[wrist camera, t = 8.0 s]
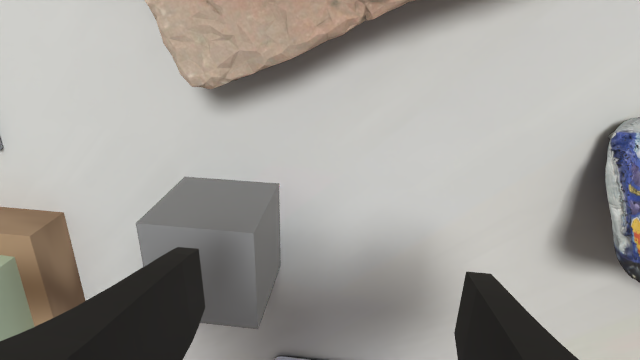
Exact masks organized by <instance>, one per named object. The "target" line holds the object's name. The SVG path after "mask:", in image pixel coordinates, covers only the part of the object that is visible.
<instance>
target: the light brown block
mask: <svg viewBox="0 0 640 360" xmlns="http://www.w3.org/2000/svg"><path fill="white" fill-rule="evenodd" d="M0 255H4V256H12V257H15V260H16V264H17V267H18V271H19V274H20V278H21V281H22V284H23V288H24V291H25V295H26V298H27V302H28V305H29V309H30V312H31V316H32V319H33V323H34V326H37V325H39V324H42V323H44V322H46V321H48V320H50V319H52V318H54V317H56V316H58V315H60V314H62V313H64V312H66V311H68V310H70V309H72V308H74V307H76V306H78V305H80V304H81V303H83V302H85V297H84V293H83V289H82V285H81V281H80V277H79V273H78V269H77V265H76V261H75V257H74V252H73V248H72V244H71V240H70V236H69V232H68V228H67V224H66V220H65V216H64V213H62V212H51V211H40V210H29V209H18V208H7V207H0Z"/></svg>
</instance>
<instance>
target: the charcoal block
mask: <svg viewBox="0 0 640 360" xmlns="http://www.w3.org/2000/svg"><path fill="white" fill-rule="evenodd" d="M136 227H137V233H138V239H139V244H140V250H141V256H142V261H143V267H144V266H146V265H148V264H149V263H151V262H153V261H154V260H156V259H157V258H159V257H161V256H162V255H164V254H166V253H167V252H169V251H171V250H173V249H175V248H177V247H185V248H196V249H199V256H200V264H201V273H202V282H203V291H204V299H205V310H204V313H203V316H202V318H201V321H200V323H207V324H216V325H225V326H235V327H244V328H253V329H258V328H259V325H260V322H261V319H262V316H263V313H264V311H265V308H266V305H267V302H268V299H269V296H270V294H271V291H272V288H273V285H274V282H275V279H276V276H277V274H278V271H279V268H280V213H279V184H276V183H262V182H249V181H235V180H221V179H207V178H194V177H184V178H183V179H182V180H181V181H180V182H179V183H178V184H177V185H176V186H175V187H174V188H173V189H171V190H170V191H169V192H168V193H167V194H166V195H165V196H164V197H163V198H162V199H161V200H160V201H159V202H158V203H157V204H156V205H155V206H154V207H152V208H151V209H150V210H149V211H148V212H147V213H146V214H145V215H144V216H143V217H142V218H141V219H140V220H139V221H138V222H137V223H136Z"/></svg>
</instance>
